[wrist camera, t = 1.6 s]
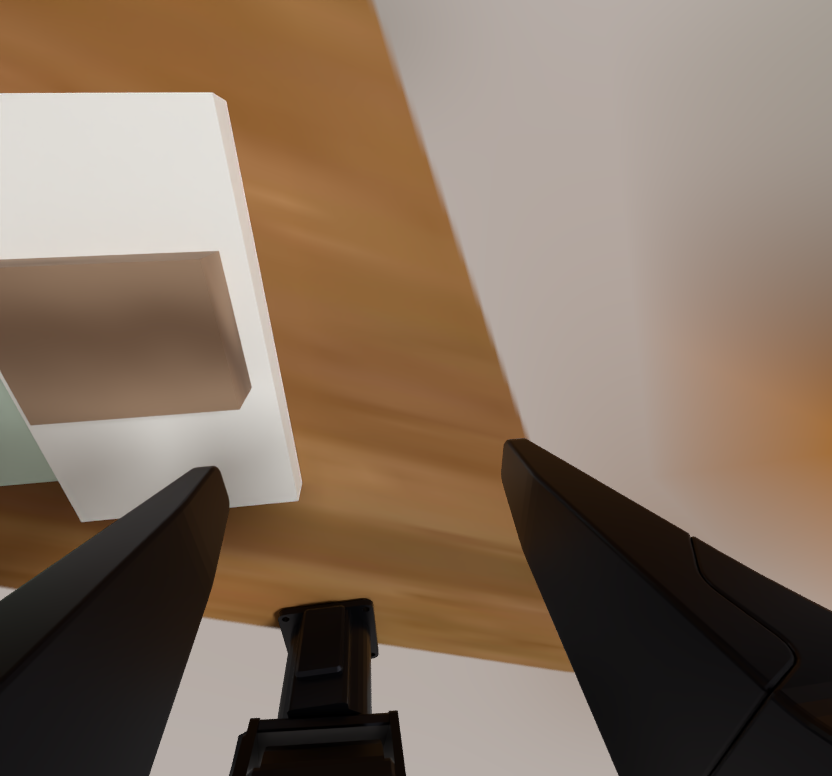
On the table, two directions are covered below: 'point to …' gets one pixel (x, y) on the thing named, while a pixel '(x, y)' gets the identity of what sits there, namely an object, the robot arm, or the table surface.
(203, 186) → the plate
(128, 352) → the walnut tile
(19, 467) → the mat
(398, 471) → the table surface
